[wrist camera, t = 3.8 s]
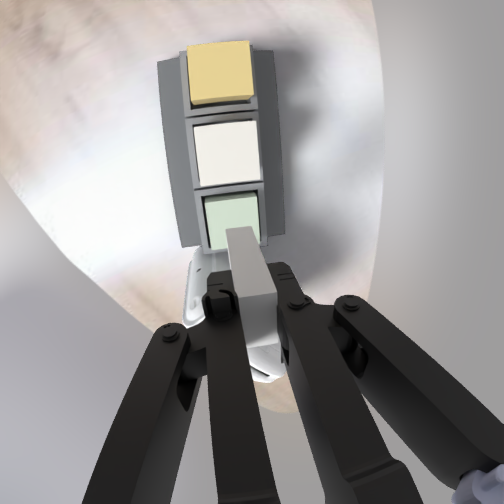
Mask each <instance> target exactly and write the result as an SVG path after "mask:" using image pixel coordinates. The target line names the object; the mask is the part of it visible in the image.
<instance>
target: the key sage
mask: <svg viewBox="0 0 504 504" xmlns="http://www.w3.org/2000/svg"><path fill="white" fill-rule="evenodd" d="M205 208H206V215H207V222H208V229H209V236H210V242H211V249H212V250H218V249H225V248H228V247H227V239H226V231H225V229H229V228H237V227H245V226H252V229H253V231H254V234H255V236H256V239H257V241H258V244H260V233H259V219H258V206H257V196H256V195H255V193H254V192H253V190H247V191H238V192H229V193H221V194H214V195H206V196H205Z"/></svg>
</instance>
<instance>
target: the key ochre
mask: <svg viewBox="0 0 504 504" xmlns="http://www.w3.org/2000/svg"><path fill="white" fill-rule="evenodd" d="M187 58H188V71H189V84H190V96H191V102H192V103H193V104H194V105H197V104H205V103H213V102H223V101H234V100H247V99H249V98H250V97H251V96H253V95H254V91H253V79H252V68H251V57H250V46H249V41H231V42H218V43H208V44H199V45H191V46H187Z"/></svg>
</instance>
